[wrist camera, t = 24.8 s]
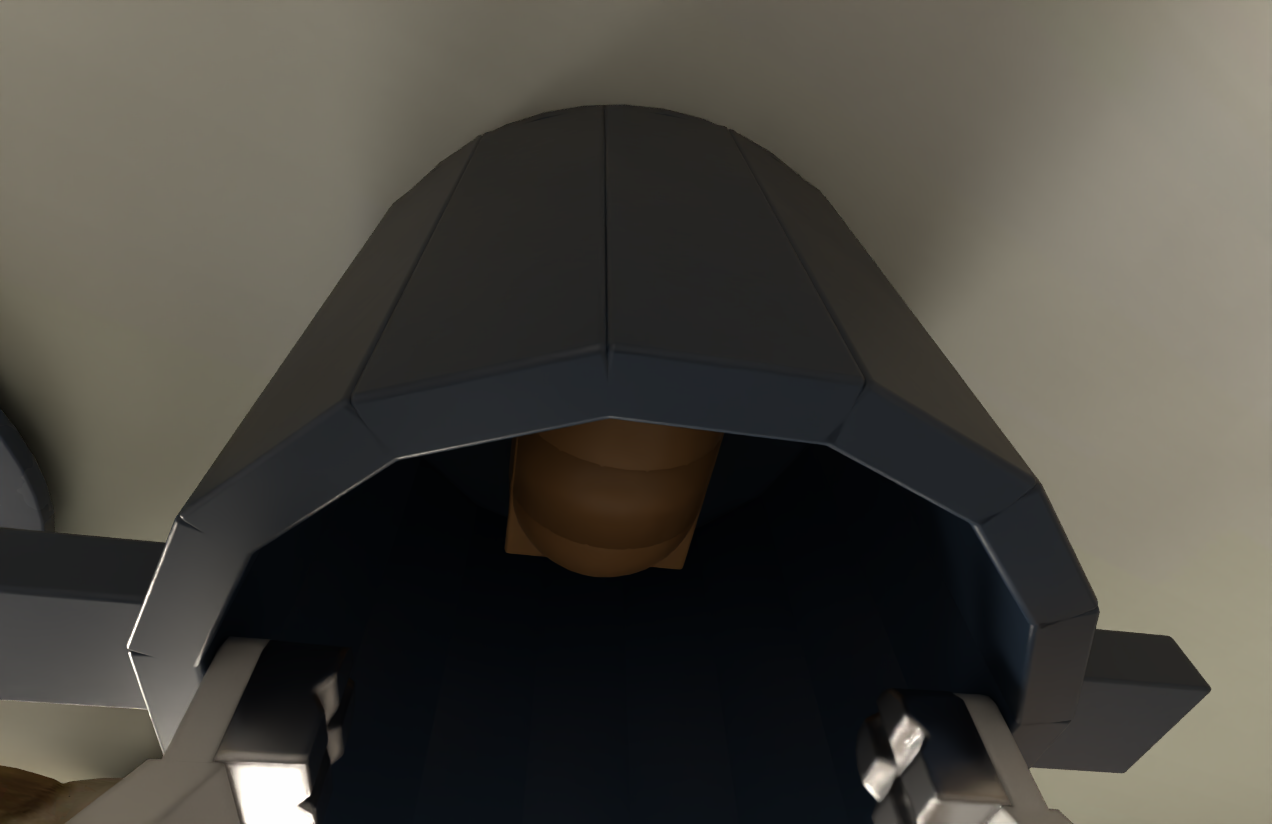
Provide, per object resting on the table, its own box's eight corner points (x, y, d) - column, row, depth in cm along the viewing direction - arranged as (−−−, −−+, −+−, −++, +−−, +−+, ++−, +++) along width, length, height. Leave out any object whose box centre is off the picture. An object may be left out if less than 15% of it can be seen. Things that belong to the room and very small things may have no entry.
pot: (188, 20, 13) (-431, 200, 5) (1069, 182, 15) (1552, 474, 8) (263, 511, 20) (41, 910, 12) (866, 572, 22) (1009, 939, 14)
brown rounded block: (536, 241, 15) (514, 352, 11) (732, 271, 16) (772, 386, 12) (512, 470, 19) (490, 611, 15) (673, 487, 19) (690, 628, 15)
